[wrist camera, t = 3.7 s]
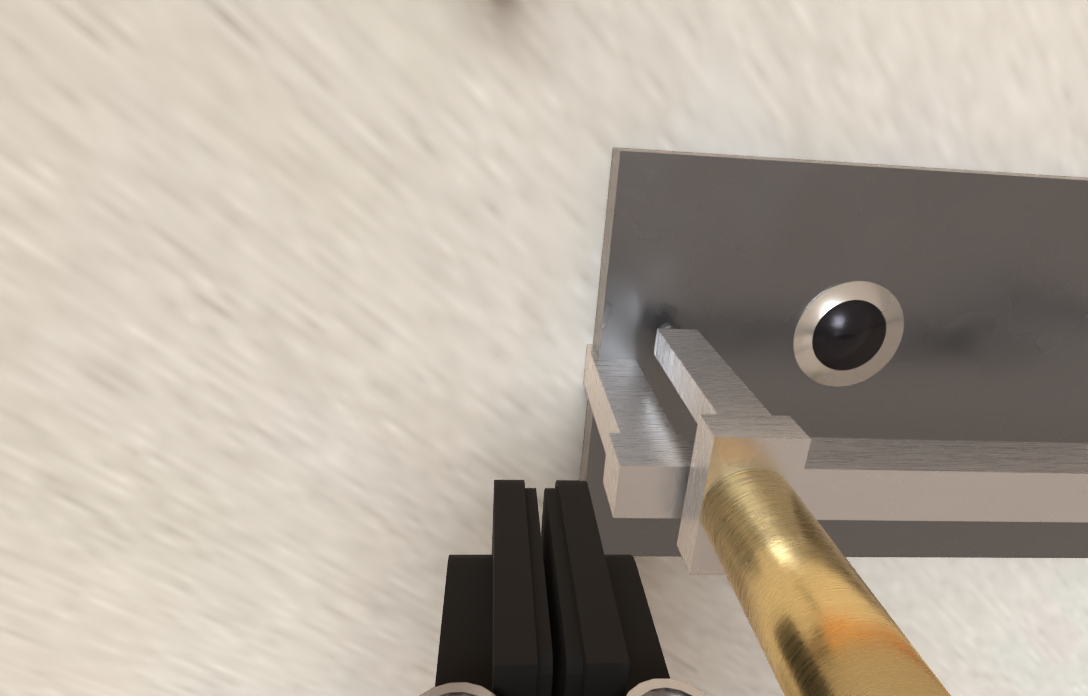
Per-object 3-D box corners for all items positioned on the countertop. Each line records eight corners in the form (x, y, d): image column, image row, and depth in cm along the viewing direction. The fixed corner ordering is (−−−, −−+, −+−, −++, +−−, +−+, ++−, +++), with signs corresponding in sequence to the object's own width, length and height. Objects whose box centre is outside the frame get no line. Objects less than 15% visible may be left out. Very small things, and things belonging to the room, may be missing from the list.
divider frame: (1178, 412, 24) (1603, 608, 15) (573, 395, 22) (631, 613, 13) (1218, 327, 23) (1711, 484, 14) (581, 301, 21) (653, 465, 11)
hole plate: (1128, 538, 26) (1159, 560, 25) (573, 534, 24) (578, 558, 23) (1297, 191, 21) (1347, 197, 20) (612, 147, 19) (621, 150, 18)
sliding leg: (685, 419, 21) (1004, 956, 8) (625, 418, 20) (848, 965, 8) (702, 321, 19) (1114, 765, 7) (638, 318, 19) (930, 770, 6)
